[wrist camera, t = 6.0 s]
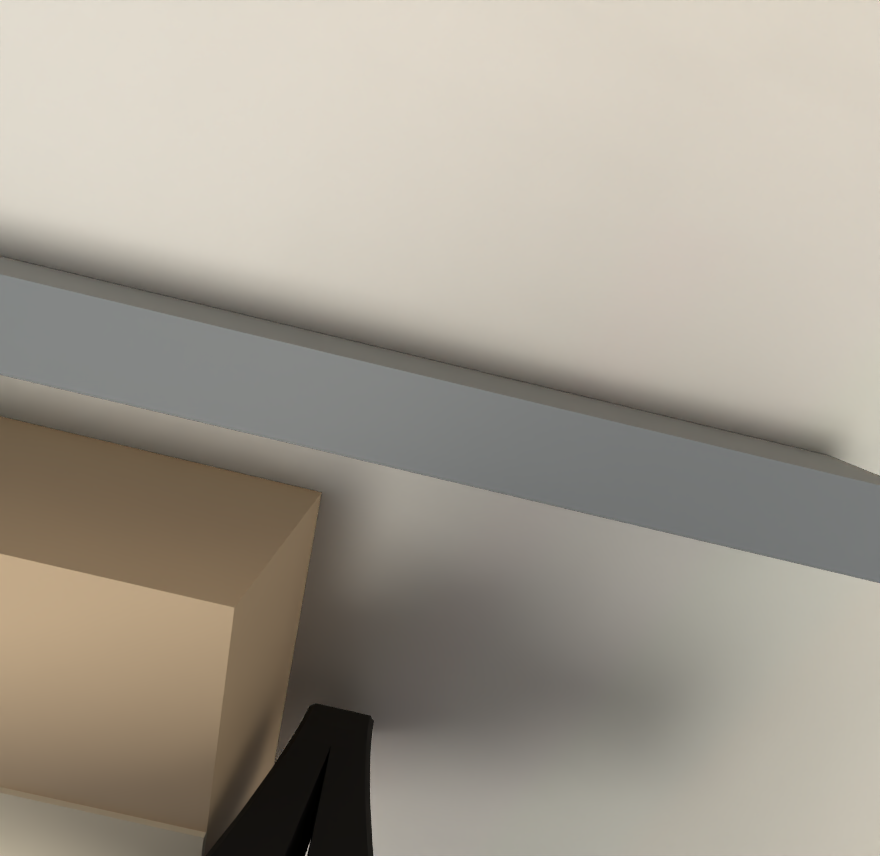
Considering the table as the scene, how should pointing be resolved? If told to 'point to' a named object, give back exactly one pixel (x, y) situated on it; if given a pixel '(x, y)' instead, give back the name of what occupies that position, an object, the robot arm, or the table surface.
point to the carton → (139, 643)
